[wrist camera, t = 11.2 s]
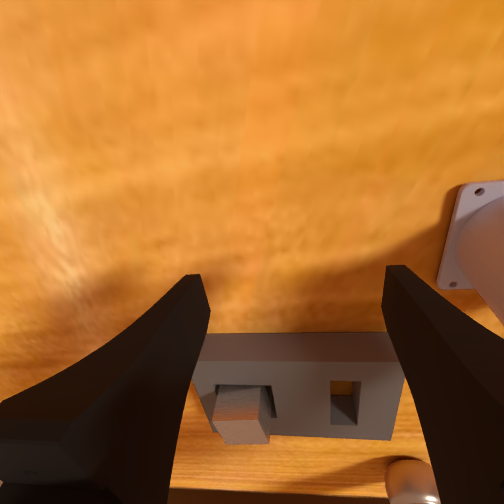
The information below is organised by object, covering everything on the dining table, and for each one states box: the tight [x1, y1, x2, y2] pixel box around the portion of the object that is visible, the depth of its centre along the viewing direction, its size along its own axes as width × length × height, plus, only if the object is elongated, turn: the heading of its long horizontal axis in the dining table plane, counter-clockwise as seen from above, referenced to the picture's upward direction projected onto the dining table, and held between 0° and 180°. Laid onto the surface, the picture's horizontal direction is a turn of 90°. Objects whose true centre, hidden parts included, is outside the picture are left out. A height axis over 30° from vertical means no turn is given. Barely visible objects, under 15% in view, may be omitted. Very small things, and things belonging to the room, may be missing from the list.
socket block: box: [192, 332, 405, 441], centre depth 29 cm, size 18×12×3 cm, turn 98°
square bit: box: [212, 384, 272, 445], centre depth 28 cm, size 4×4×6 cm
